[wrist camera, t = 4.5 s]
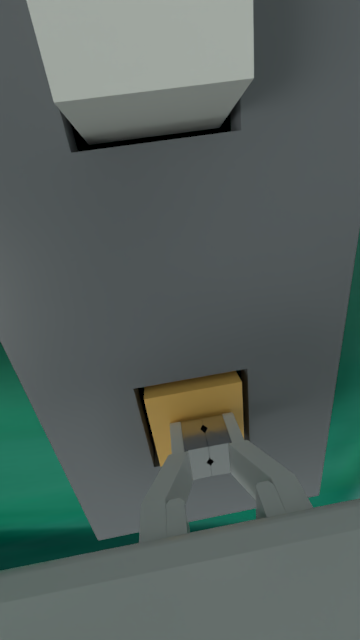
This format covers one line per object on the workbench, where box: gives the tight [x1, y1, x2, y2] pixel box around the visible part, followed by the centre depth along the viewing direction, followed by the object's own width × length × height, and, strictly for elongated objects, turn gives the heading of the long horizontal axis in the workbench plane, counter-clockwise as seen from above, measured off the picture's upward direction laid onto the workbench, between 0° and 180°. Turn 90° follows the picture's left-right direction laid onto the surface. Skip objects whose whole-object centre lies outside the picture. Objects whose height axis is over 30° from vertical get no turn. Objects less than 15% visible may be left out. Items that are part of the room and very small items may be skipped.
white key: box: [26, 0, 254, 145], centre depth 6 cm, size 4×4×3 cm
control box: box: [0, 0, 360, 540], centre depth 12 cm, size 14×30×6 cm, turn 8°
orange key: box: [144, 371, 244, 467], centre depth 13 cm, size 4×4×3 cm
